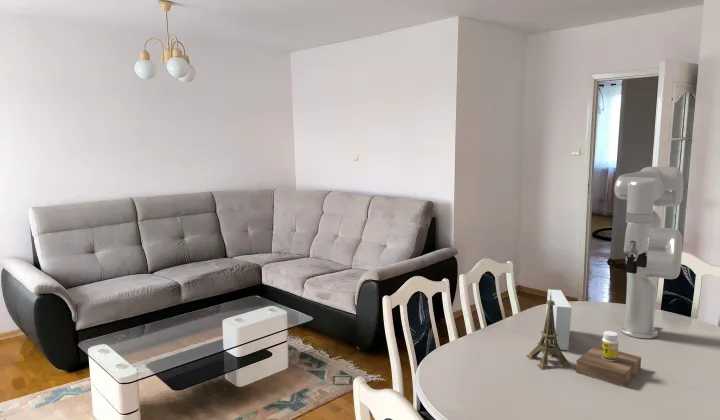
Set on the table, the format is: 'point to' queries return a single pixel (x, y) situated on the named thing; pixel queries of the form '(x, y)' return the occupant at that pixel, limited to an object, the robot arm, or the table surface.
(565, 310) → the skincare box
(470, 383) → the table surface
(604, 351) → the supplement bottle
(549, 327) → the eiffel tower
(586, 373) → the podium
